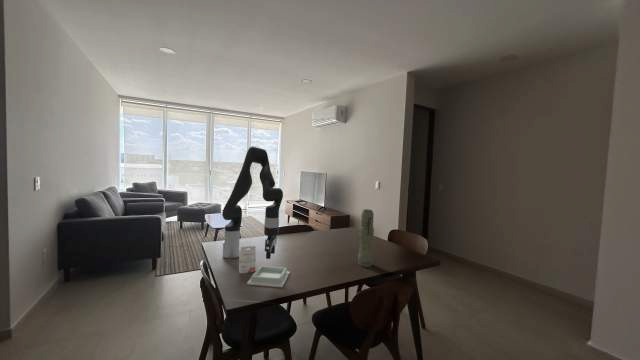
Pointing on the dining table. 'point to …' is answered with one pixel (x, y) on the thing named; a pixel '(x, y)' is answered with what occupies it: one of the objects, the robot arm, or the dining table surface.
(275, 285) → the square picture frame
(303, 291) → the dining table surface
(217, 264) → the dining table surface
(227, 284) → the dining table surface
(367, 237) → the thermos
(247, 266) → the ink cartridge box
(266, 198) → the robot arm
